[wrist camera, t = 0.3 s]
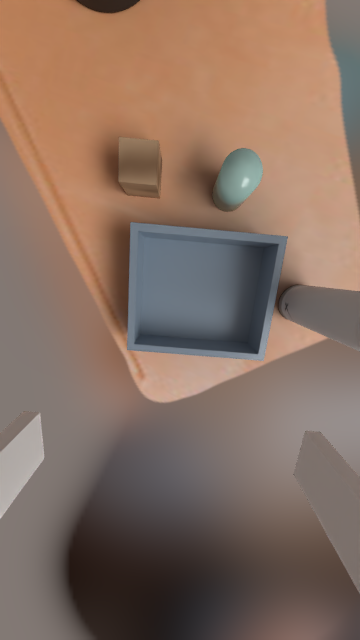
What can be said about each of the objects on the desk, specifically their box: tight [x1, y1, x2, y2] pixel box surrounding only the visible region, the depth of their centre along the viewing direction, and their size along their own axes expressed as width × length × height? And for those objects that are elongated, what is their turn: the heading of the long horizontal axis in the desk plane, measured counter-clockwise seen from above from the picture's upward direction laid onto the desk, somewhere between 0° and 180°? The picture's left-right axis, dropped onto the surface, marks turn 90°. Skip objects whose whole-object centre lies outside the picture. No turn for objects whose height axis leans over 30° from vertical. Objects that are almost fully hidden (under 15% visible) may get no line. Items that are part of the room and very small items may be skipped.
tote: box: [127, 222, 288, 361], centre depth 32 cm, size 18×21×6 cm
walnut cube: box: [118, 137, 162, 198], centre depth 29 cm, size 5×5×5 cm
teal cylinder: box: [212, 148, 263, 212], centre depth 28 cm, size 5×5×7 cm
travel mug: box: [279, 285, 360, 351], centre depth 26 cm, size 6×7×20 cm
